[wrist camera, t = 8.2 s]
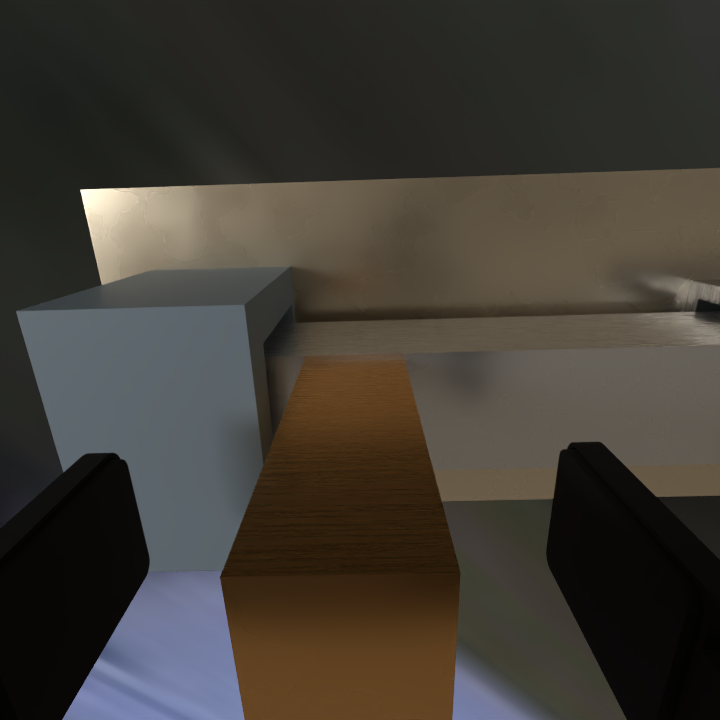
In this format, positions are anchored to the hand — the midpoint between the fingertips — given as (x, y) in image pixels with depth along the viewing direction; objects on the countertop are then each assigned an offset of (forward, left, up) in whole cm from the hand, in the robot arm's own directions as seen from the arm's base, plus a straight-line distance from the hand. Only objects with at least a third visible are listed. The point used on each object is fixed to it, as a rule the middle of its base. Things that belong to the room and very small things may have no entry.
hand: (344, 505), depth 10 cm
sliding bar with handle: (-6, 0, -8) cm, 10 cm away
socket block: (+5, 0, -9) cm, 11 cm away
